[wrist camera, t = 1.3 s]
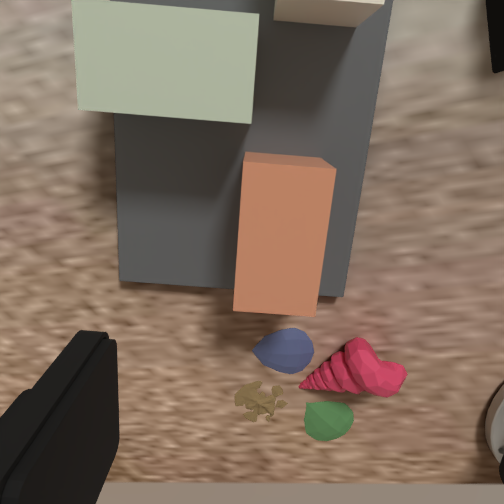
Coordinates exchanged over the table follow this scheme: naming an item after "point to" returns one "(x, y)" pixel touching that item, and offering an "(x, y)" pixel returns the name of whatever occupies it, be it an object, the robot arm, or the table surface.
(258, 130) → the baseplate
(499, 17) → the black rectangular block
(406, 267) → the table surface
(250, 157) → the terracotta brick
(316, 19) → the cream brick
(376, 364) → the toy pieces
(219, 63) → the sage brick
